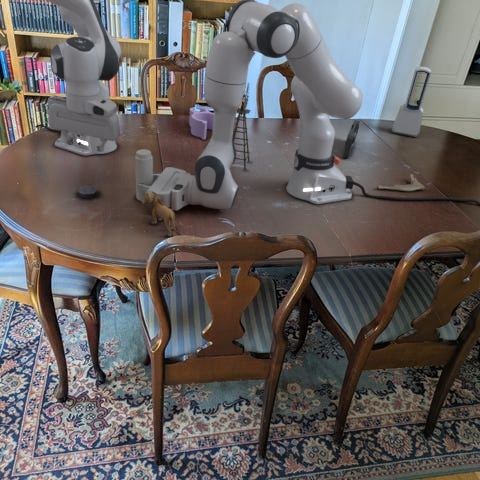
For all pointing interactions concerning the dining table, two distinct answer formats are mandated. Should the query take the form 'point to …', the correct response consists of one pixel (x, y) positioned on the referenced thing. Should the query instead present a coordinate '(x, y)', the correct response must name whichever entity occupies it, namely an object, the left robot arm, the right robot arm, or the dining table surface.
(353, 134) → the handheld gaming console
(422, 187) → the jawbone
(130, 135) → the dining table surface
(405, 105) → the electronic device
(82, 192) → the lid
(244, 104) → the miniature windmill
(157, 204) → the lion figurine
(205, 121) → the clip
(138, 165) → the jar
